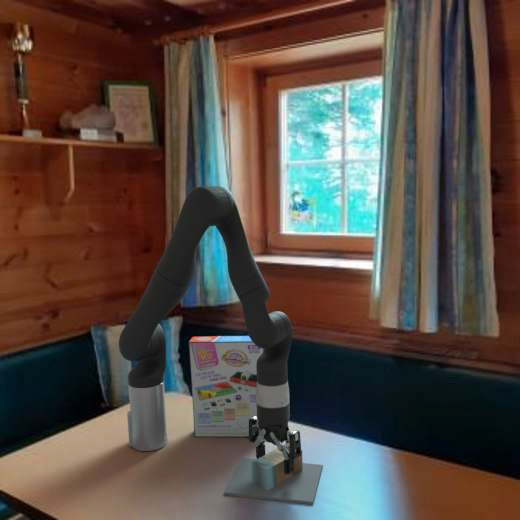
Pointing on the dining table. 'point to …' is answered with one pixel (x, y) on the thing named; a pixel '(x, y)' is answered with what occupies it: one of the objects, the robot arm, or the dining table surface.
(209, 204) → the robot arm
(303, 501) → the rubber mat
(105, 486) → the dining table surface
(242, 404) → the game box
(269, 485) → the brown and blue block
